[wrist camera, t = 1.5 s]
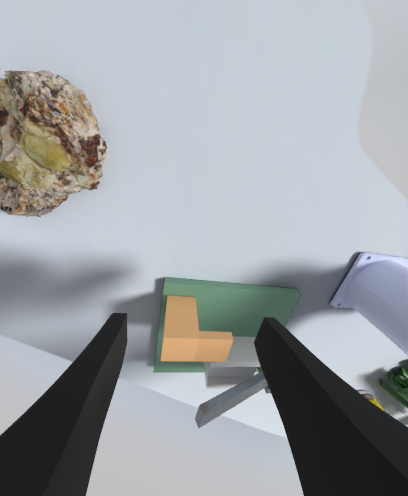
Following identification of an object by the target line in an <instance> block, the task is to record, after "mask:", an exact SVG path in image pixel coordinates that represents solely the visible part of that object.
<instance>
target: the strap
mask: <svg viewBox="0 0 408 496" xmlns="http://www.w3.org/2000/svg"><path fill="white" fill-rule="evenodd" d="M267 386H268V384H267V381H266V379H265V376H264V374H263V371H261V372H260V373H258V374H256V375H254V376H252V377H250V378H249V379H247V380H245V381H243V382H241V383H239V384H238V385H236V386H234V387H232V388H230V389H229V390H227V391H225V392H223V393H221V394H219V395H218V396H216V397H214V398H212V399H210V400H208V401H207V402H205V403H203V404H201V405H199V408H198V412H197V414H196V418H195V420H196V423H197V425H198V428H200V427H202V426H203V425H205V424H207V423H208V422H210V421H211V420H213V419H215V418H216V417H218V416H220V415H221V414H223V413H224V412H226V411H228V410H229V409H231V408H233V407H234V406H236V405H237V404H239V403H241V402H242V401H244V400H246V399H247V398H249V397H250V396H252V395H254V394H255V393H257V392H259V391H260V390H262V389H263V388H265V387H267Z"/></svg>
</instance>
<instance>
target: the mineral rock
mask: <svg viewBox="0 0 408 496" xmlns="http://www.w3.org/2000/svg"><path fill="white" fill-rule="evenodd" d="M5 72H6V71H5ZM5 76H6V78H7V79H1V78H0V206H1V210H3V211H5V212H7V213H8V214H10V215H23V216H38V217H41V215H45V214H47V213H49V212H51V211H52V209H54V208H55V207H59V205H60V204H61V203H62V202H63V201H66V200H67V198H68V195H69V194H71V193H76V192H80V190H81V188H83V189H84V188H88V189H90V190H92V189H97V185H98V184H99V183H100V182H99V178H100V177H102V176H103V175H102V170H103V159H105V158H106V155H107V154H106V149H107V147H106V143H105V141H104V140H103V139H102V138H101V137H100V135H99V134H98V130H99V128H98V125H97V120H96V118H95V116H94V113H93V111H92V107H91V105H90V104H89V102H88V100H87V98H86V96H85V94H84V93H83V92H82V91H81V90H80V89H77V88H76V87H75V86H71V84H70V83H69V82H68V81H67V80H66V79H64V78H62V77H61V76H59V75H57V77H55V76H54V75H53V74H52V73H50V72H49V71H47V72H46V71H39V72H27V71H8V72H6V74H5Z"/></svg>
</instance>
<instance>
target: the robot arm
mask: <svg viewBox="0 0 408 496" xmlns="http://www.w3.org/2000/svg"><path fill="white" fill-rule="evenodd" d="M330 305H331V306H332V307H337V308H352V309H356V310H357V311H358V312H359V313H360V314H361V315H363V316H364V317H365V318H366V319H367V320H368V321H369V322H371V323H372V324H373V325H374V326H375V327H376V328H377V329H379V330H380V331H381V332H382V333H383V334H384V335H385V336H387V337H388V338H389V339H390V340H391V341H392V342H393V343H395V344H396V345H397V346H398V347H399V348H400V349H401V350H402V351H404V352H405V353H406V354H407V355H408V258H402V257H395V256H388V255H381V254H373V253H366V252H363V253H361V254H360V255H359V256H358V258H357V260H356V261H355V263H354V264H353V266H352V268H351V269H350V271H349V273H348V274H347V276H346V278H345V279H344V281H343V283H342V284H341V286H340V288H339V289H338V291H337V293H336V294H335V296H334V298H333V299H332V301H331V303H330ZM126 345H127V313H113V314H111V316H110V317H109V318H108V320H107V321H106V323H105V324H104V325H103V327H102V328H101V329H100V331H99V332H98V333H97V334H96V336H95V337H94V338H93V339H92V341H91V342H90V343H89V344H88V345H87V347H86V348H85V349H84V350H83V351H82V353H81V354H80V355H79V356H78V357H77V359H76V360H75V361H74V362H73V363H72V364H71V365H70V366H69V367H68V369H67V370H66V371H65V372H64V373H63V374H62V375H61V376H60V377H59V378H58V380H57V381H56V382H55V383H54V384H53V385H52V386H51V387H50V388H49V389H48V390H47V391H46V392H45V393H44V394H43V395H42V396H41V397H40V398H39V399H38V400H37V401H36V402H35V403H34V404H33V405H32V406H31V407H30V408H29V409H28V410H27V411H26V412H25V413H24V414H23V415H22V416H21V417H20V418H19V419H17V421H15V422H14V423H13V424H12V425H11V426H10V427H9V428H8V429H7V430H6V431H5V432H4V433H3V434H1V435H0V496H86V492H87V487H88V483H89V479H90V475H91V471H92V467H93V463H94V458H95V454H96V450H97V446H98V441H99V438H100V434H101V431H102V428H103V424H104V421H105V418H106V415H107V411H108V408H109V405H110V402H111V399H112V396H113V393H114V390H115V386H116V383H117V380H118V377H119V374H120V371H121V367H122V364H123V359H124V355H125V350H126ZM254 345H255V349H256V353H257V357H258V360H259V363H260V366H261V369H262V371H263V374H264V376H265V379H266V381H267V384H268V386H269V389H270V391H271V394H272V396H273V399H274V401H275V404H276V406H277V409H278V411H279V414H280V417H281V419H282V422H283V425H284V428H285V432H286V435H287V438H288V441H289V444H290V447H291V451H292V454H293V458H294V461H295V465H296V468H297V471H298V475H299V479H300V482H301V486H302V490H303V494H304V496H408V427H406V426H405V425H403V424H402V423H400V422H399V421H398V420H396V419H395V418H393V417H392V416H390V415H389V414H388V413H386V412H385V411H383V410H382V409H381V408H379V407H378V406H376V405H375V404H374V403H372V402H371V401H369V400H368V399H367V398H365V397H364V396H363V395H361V394H360V393H359V392H358V391H356V390H355V389H354V388H353V387H351V386H350V385H349V384H347V383H346V382H345V381H344V380H342V379H341V378H340V377H339V376H338V375H336V374H335V373H334V372H333V371H332V370H331V369H329V368H328V367H327V366H326V365H325V364H324V363H322V362H321V361H320V360H319V359H318V358H317V357H316V356H315V355H314V354H313V353H311V352H310V351H309V350H308V349H307V348H306V347H305V346H304V345H303V344H302V343H301V342H300V341H299V340H298V339H297V338H296V337H294V336H293V335H292V334H291V333H290V332H289V331H288V330H287V329H286V328H285V327H284V326H283V325H282V324H281V323H280V322H279V321H278V320H276V319H275V318H274V317H264V319H263V321H262V324H261V326H260V329H259V331H258V333H257V336H256V338H255V341H254Z"/></svg>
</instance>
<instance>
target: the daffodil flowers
mask: <svg viewBox="0 0 408 496" xmlns="http://www.w3.org/2000/svg"><path fill="white" fill-rule="evenodd" d="M399 371H400V372H401V373H402V374H403V375H404V376H405V377H406V378H407V379H405V378H404V377H402V376H401V375H396V376H395V375H393V374H392V373H391V372H389V375H388V378H389V380H390V381H391V382H393V383H394V384H395V385H396V386H397V387H398V388H399V390H397V392H398V393H399V394H400V395H399V394H398V393H397V392H396V391H394V390H393V389H392V388H391V387H390V386H389V385H387V384H386V383H385V382H384V381H383V380H381V379H380V385H381V386H382V387H383V388H384V389H385V390H386V391H388V392H389V393H390V394H391V395H392V396H394V397H395V398H396V399H397V400H398V401H400V402H401V403H402V404H403V405H405V406H406V407H407V408H408V370H407V369H405V368H400V369H399ZM401 395H402V396H403V397H404V398H405V399H404V398H403V397H402V396H401Z"/></svg>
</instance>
